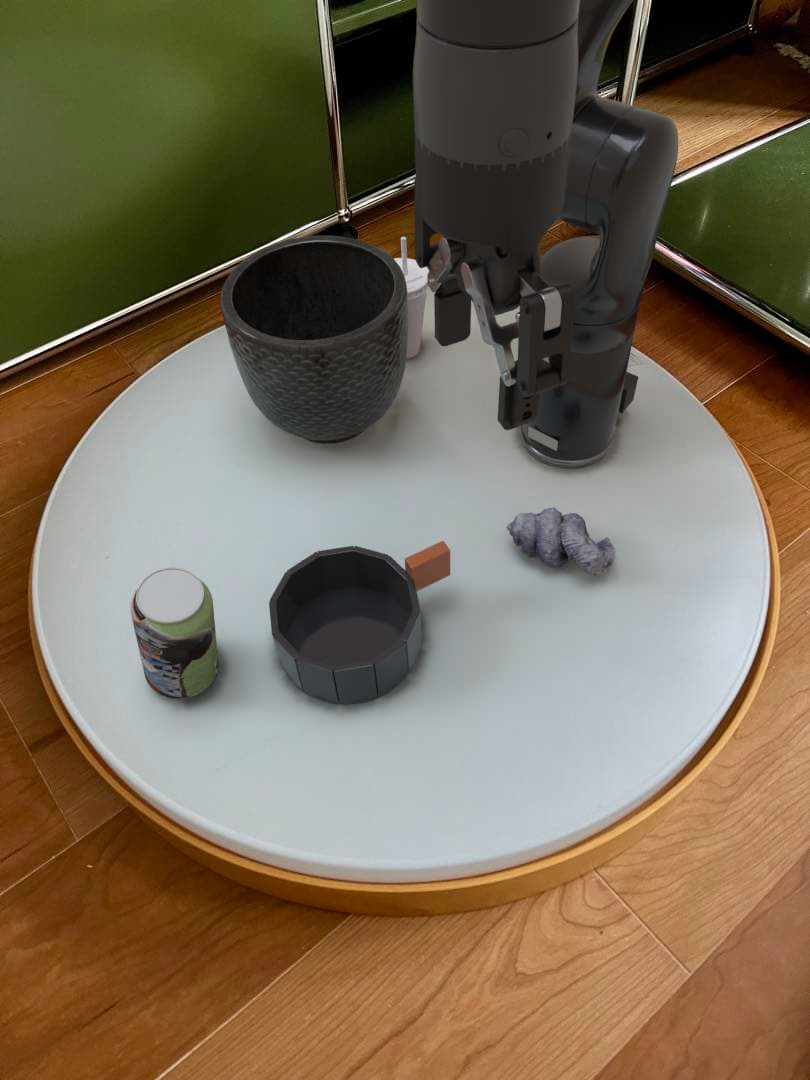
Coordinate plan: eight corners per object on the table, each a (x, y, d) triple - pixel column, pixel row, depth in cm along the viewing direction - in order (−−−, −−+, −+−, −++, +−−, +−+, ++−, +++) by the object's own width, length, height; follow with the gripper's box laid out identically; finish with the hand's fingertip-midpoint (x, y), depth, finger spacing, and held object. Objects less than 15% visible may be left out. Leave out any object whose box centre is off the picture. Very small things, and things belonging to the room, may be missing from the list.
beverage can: (152, 645, 77) (111, 561, 68) (237, 638, 77) (208, 552, 68) (145, 711, 73) (101, 630, 64) (235, 702, 73) (204, 621, 64)
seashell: (612, 573, 82) (506, 550, 84) (624, 516, 80) (516, 495, 83) (608, 588, 77) (494, 563, 79) (621, 528, 75) (505, 504, 78)
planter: (299, 346, 102) (278, 219, 89) (438, 385, 97) (436, 256, 84) (218, 446, 92) (182, 319, 80) (368, 495, 87) (354, 368, 75)
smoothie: (426, 369, 98) (423, 258, 87) (369, 363, 99) (359, 253, 88) (436, 333, 102) (435, 222, 91) (381, 327, 103) (373, 217, 92)
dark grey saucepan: (393, 542, 83) (389, 492, 78) (480, 624, 77) (483, 576, 72) (253, 635, 77) (238, 588, 72) (335, 732, 71) (326, 688, 66)
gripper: (645, 167, 39) (597, 433, 52) (493, 44, 47) (484, 299, 60) (492, 211, 37) (481, 475, 50) (362, 75, 46) (381, 331, 58)
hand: (482, 379), depth 55 cm, fingers open, 8 cm apart
